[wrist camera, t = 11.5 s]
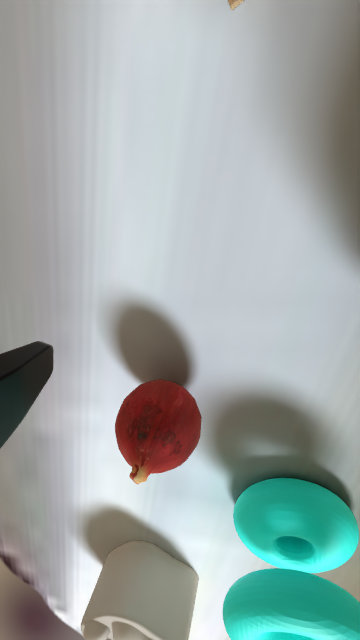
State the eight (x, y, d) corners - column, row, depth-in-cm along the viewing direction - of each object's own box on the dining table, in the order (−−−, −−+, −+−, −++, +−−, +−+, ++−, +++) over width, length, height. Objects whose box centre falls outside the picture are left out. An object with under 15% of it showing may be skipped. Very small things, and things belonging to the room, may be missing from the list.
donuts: (378, 709, 23) (227, 668, 25) (350, 550, 31) (239, 533, 34) (398, 641, 18) (211, 602, 21) (359, 476, 26) (230, 464, 29)
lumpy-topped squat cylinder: (210, 579, 40) (195, 681, 32) (154, 602, 47) (131, 691, 39) (137, 532, 39) (105, 628, 31) (90, 564, 46) (55, 648, 38)
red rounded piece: (135, 352, 26) (85, 434, 19) (211, 364, 25) (186, 455, 18) (139, 409, 29) (97, 497, 22) (207, 422, 27) (184, 519, 21)
